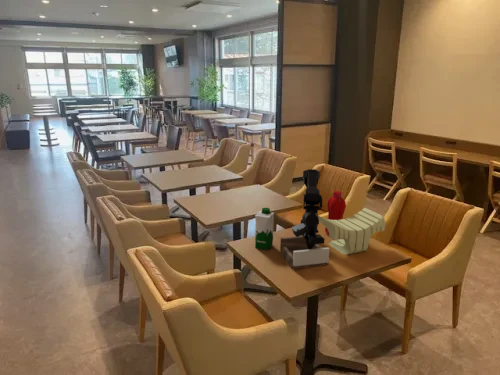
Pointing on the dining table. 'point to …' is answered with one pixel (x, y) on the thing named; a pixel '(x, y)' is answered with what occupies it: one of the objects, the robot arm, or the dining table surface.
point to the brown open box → (295, 249)
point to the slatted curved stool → (354, 231)
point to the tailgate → (310, 256)
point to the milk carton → (264, 229)
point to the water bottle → (335, 207)
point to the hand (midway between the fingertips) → (309, 250)
